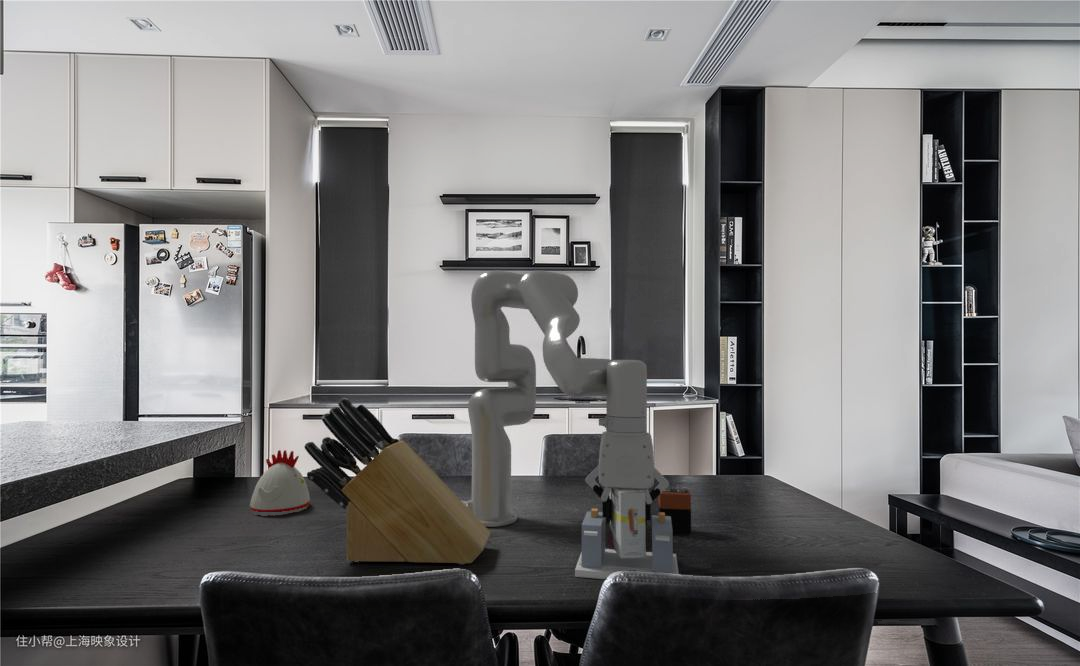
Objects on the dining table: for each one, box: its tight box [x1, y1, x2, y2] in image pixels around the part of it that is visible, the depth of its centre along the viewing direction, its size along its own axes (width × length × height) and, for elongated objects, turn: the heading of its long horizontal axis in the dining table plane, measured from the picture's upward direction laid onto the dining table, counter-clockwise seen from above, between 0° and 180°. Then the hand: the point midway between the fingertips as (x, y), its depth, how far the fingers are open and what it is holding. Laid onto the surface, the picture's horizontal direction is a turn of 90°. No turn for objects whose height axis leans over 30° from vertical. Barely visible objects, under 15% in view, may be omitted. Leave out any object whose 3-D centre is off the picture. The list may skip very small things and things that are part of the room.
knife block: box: [304, 397, 492, 565], centre depth 107 cm, size 11×35×31 cm, turn 87°
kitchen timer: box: [249, 449, 311, 512], centre depth 140 cm, size 14×14×15 cm
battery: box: [657, 486, 692, 536], centre depth 122 cm, size 4×7×10 cm, turn 83°
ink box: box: [608, 488, 647, 558], centre depth 100 cm, size 9×5×12 cm, turn 7°
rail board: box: [574, 507, 680, 580], centre depth 100 cm, size 18×12×10 cm, turn 78°
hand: (626, 521), depth 100 cm, fingers closed on ink box, 6 cm apart
